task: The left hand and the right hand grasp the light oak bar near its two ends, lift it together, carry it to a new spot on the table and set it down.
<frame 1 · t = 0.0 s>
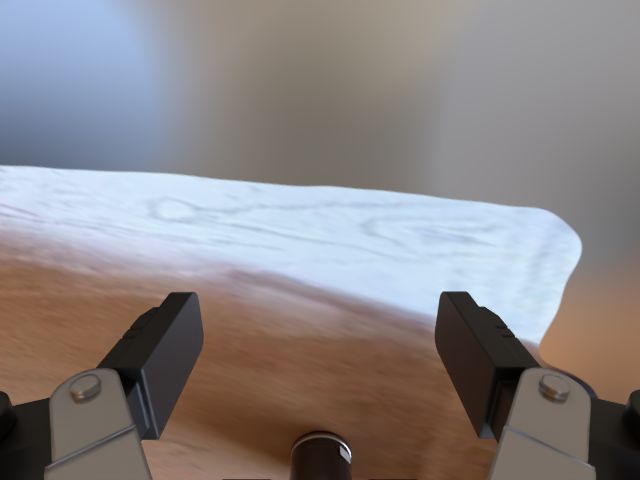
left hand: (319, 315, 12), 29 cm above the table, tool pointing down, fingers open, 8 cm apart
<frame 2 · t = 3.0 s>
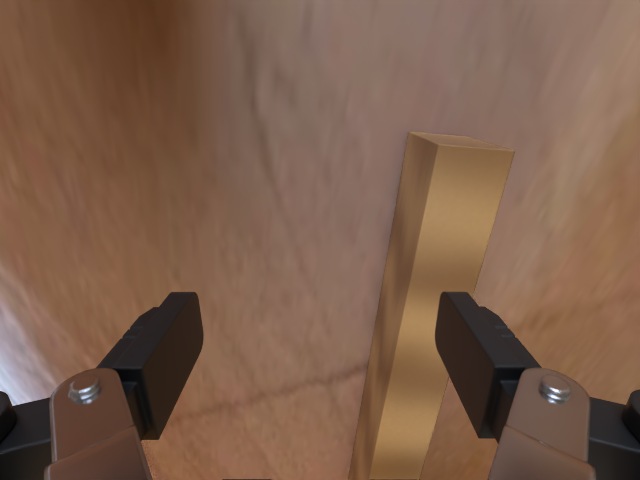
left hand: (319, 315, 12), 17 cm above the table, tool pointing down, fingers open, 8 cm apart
bar: (383, 399, 36), on the table
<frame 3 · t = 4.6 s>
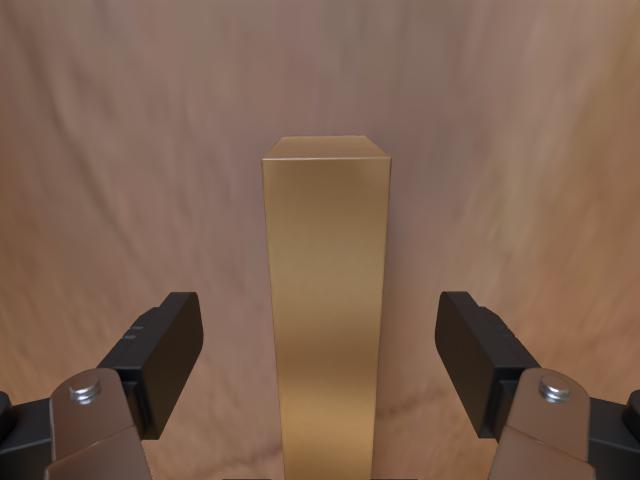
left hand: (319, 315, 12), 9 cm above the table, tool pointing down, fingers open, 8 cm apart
bar: (326, 476, 28), on the table
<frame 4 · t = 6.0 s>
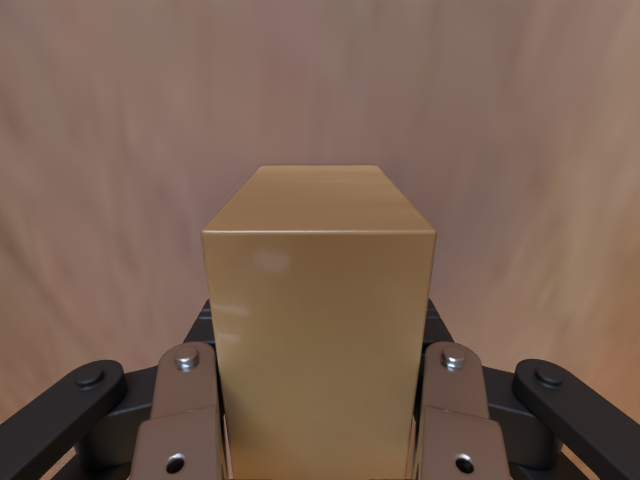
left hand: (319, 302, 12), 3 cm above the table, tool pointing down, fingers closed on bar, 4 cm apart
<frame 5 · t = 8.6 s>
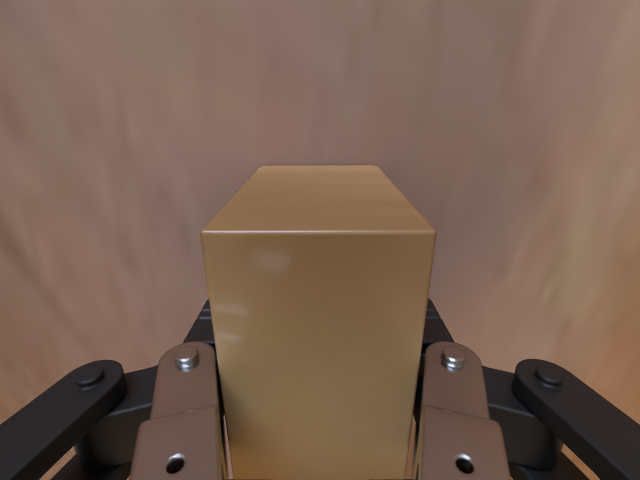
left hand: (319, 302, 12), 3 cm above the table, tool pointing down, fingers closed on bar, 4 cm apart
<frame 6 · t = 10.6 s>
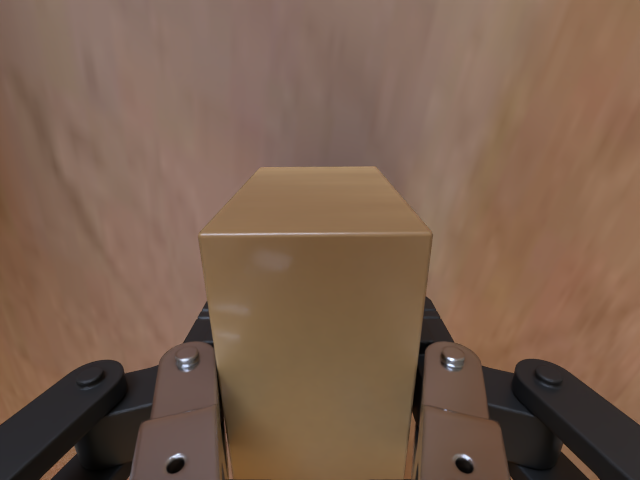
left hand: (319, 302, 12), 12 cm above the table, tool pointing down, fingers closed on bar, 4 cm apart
when the right hand's fingers open (2 cm above the table, at t = 12.9 s): bar drops 2 cm, on the table.
when the left hand's fingers open (4 cm above the table, at t = 13.1 s): bar stays where it is, on the table.
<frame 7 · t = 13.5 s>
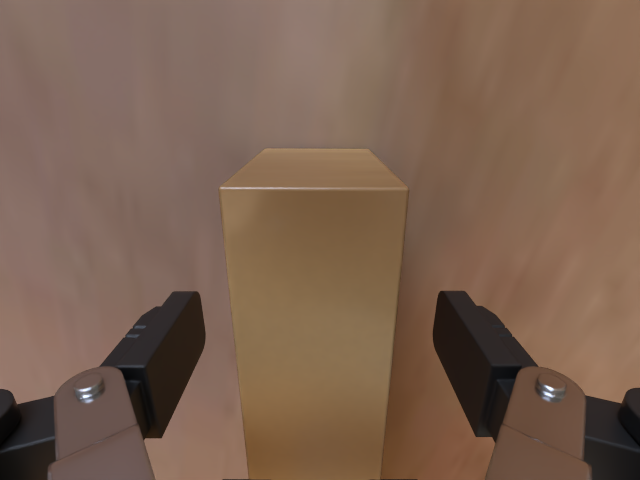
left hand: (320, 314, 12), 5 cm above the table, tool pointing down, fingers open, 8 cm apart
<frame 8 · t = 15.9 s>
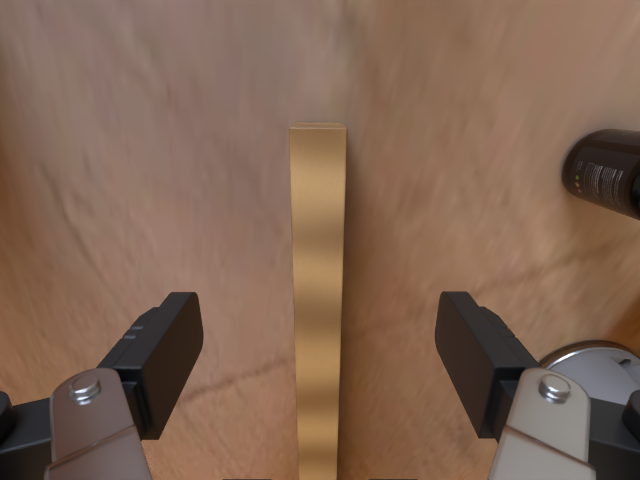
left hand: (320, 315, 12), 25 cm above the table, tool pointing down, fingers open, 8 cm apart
supplement bottle: (594, 164, 35), on the table
bar: (318, 351, 43), on the table
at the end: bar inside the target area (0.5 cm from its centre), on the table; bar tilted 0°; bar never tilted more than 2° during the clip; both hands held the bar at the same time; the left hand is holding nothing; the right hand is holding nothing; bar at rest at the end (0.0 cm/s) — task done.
